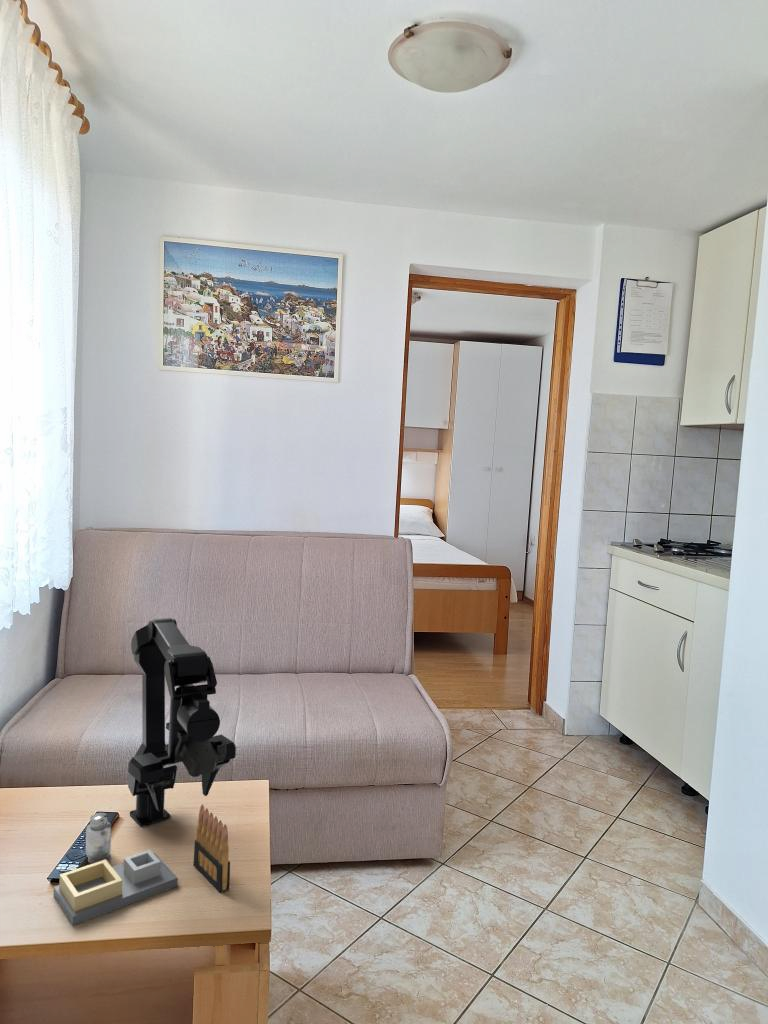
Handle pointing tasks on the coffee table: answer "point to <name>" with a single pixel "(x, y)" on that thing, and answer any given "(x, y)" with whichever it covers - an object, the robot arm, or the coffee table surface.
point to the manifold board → (111, 885)
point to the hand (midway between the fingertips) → (182, 802)
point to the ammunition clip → (212, 850)
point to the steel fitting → (98, 838)
